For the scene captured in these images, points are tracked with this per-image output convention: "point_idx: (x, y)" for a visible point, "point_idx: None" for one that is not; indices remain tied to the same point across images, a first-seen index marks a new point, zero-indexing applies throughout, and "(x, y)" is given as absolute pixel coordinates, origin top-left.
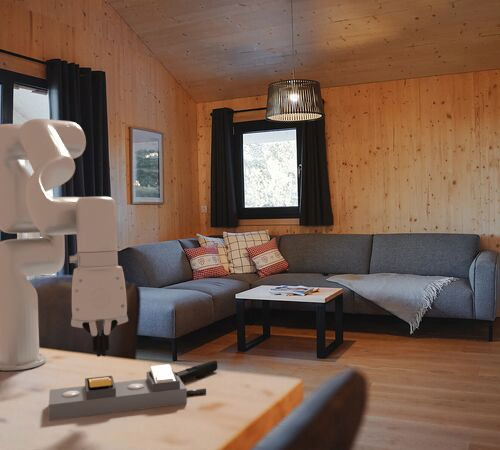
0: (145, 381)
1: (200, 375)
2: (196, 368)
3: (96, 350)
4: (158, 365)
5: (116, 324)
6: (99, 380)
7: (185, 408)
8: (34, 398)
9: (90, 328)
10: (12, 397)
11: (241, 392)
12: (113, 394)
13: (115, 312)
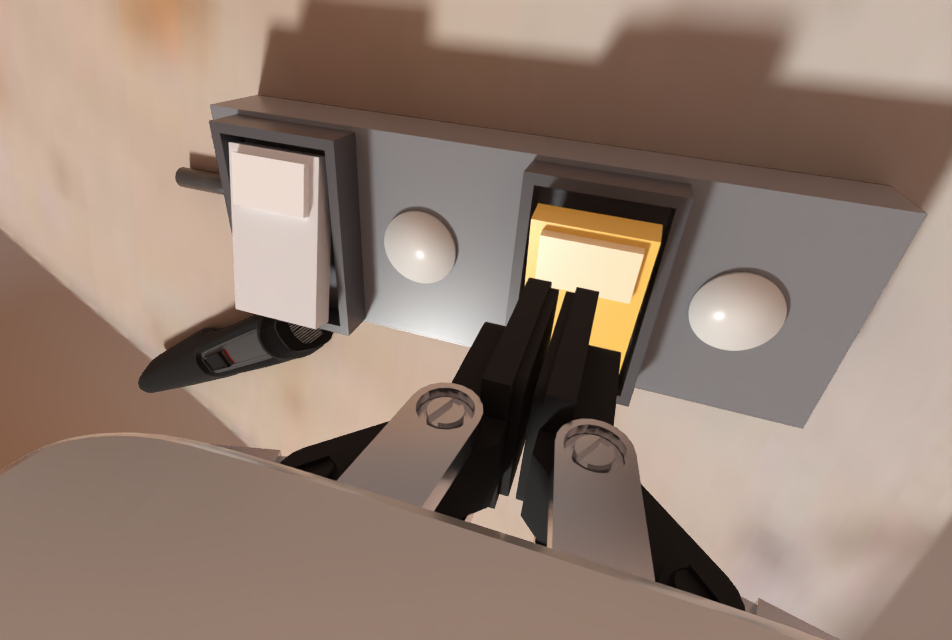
0: (372, 295)
1: (202, 331)
2: (196, 356)
3: (591, 345)
4: (281, 320)
5: (302, 452)
6: (599, 240)
7: (264, 31)
8: (816, 478)
9: (638, 514)
10: (894, 535)
11: (71, 114)
12: (543, 164)
13: (127, 530)
